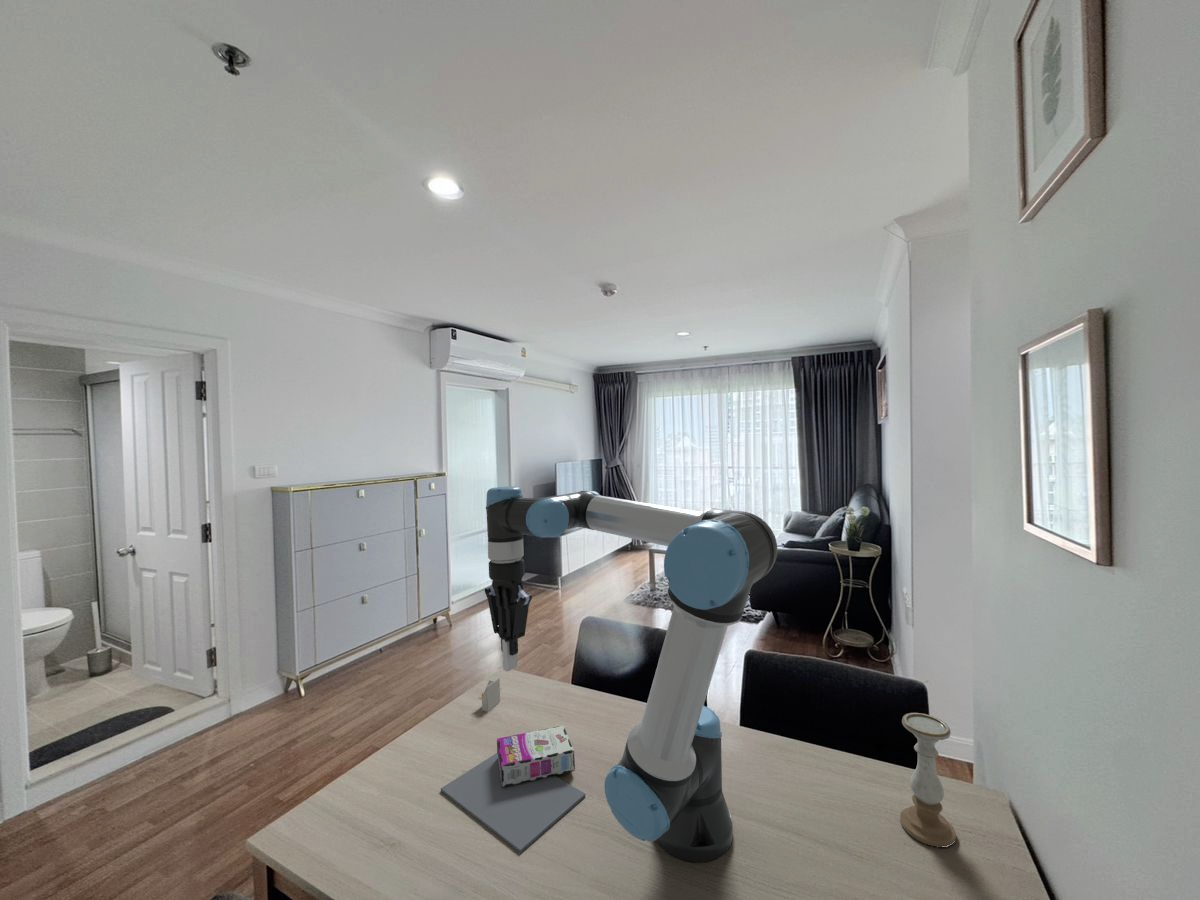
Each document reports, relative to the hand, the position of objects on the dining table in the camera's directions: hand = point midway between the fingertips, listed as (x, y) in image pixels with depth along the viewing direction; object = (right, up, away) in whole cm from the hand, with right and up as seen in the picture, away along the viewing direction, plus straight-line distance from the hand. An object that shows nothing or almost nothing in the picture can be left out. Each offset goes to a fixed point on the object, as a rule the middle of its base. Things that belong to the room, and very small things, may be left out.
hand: (510, 668), depth 105 cm
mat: (+1, -27, -1) cm, 27 cm away
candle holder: (+81, -25, -13) cm, 86 cm away
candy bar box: (-4, -24, +5) cm, 25 cm away
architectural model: (-12, -27, +35) cm, 46 cm away
